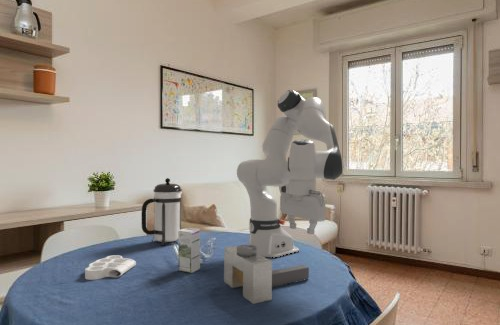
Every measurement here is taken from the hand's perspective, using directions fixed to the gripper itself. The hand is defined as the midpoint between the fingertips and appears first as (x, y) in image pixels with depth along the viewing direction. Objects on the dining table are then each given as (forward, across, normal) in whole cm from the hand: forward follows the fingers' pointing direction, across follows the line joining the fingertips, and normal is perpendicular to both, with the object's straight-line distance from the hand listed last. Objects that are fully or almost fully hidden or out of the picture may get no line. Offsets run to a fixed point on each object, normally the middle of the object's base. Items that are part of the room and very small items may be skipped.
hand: (301, 231), depth 114 cm
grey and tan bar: (+16, 0, +8) cm, 18 cm away
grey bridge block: (+16, 0, +20) cm, 26 cm away
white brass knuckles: (+17, +39, +54) cm, 69 cm away
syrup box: (+16, +26, +29) cm, 43 cm away
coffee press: (+16, +68, +26) cm, 75 cm away
